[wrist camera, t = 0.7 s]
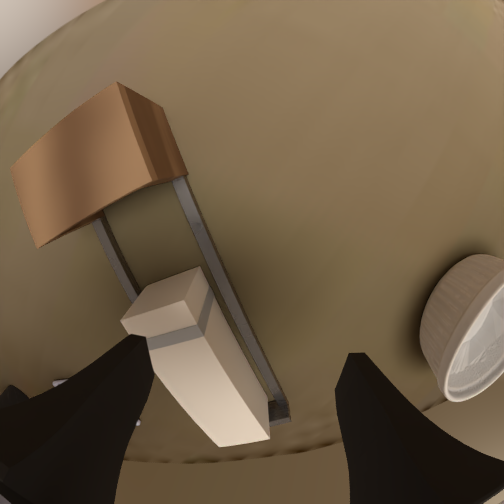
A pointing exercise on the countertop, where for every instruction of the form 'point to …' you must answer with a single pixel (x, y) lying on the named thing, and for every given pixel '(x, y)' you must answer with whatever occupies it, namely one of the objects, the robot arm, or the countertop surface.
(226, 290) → the guide channel
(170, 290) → the banded cream case
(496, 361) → the ramekin
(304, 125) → the countertop surface
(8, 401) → the travel mug
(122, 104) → the socket block
